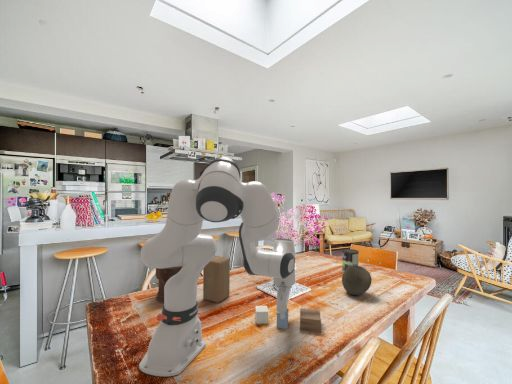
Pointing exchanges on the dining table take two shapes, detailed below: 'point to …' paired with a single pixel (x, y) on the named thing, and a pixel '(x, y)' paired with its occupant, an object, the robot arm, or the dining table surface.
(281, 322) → the blue block
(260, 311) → the cream cube
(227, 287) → the wooden block
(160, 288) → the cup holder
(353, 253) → the coffee can
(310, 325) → the walnut base
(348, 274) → the dark grey ball
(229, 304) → the dining table surface
